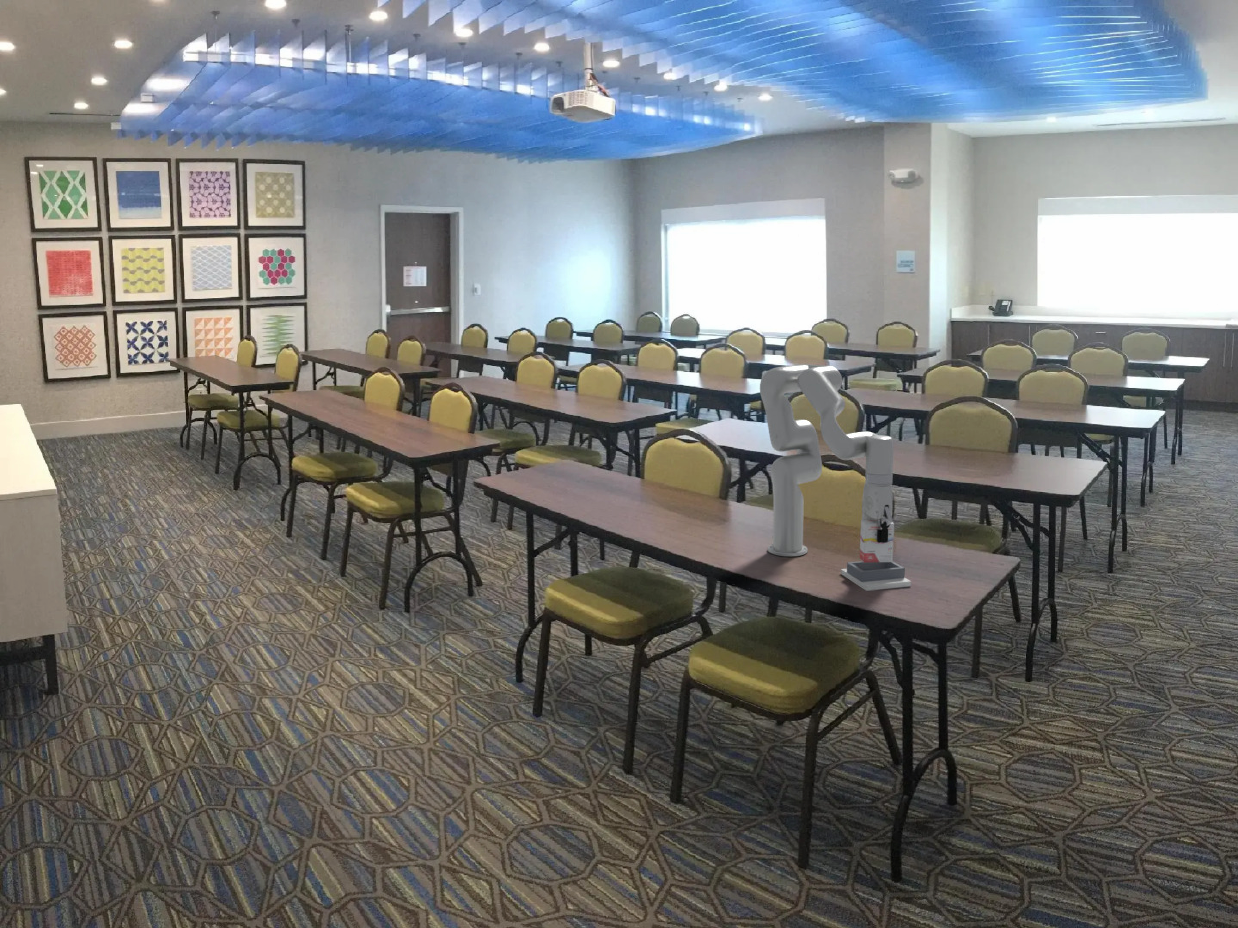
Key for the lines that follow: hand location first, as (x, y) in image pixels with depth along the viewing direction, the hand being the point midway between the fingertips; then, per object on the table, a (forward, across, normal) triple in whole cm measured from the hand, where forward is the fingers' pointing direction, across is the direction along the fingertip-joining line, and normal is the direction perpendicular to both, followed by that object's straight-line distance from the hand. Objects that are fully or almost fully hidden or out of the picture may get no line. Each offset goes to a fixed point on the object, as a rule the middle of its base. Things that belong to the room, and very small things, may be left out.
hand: (876, 538), depth 279 cm
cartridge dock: (+13, 0, 0) cm, 13 cm away
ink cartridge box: (+7, 0, 0) cm, 7 cm away
